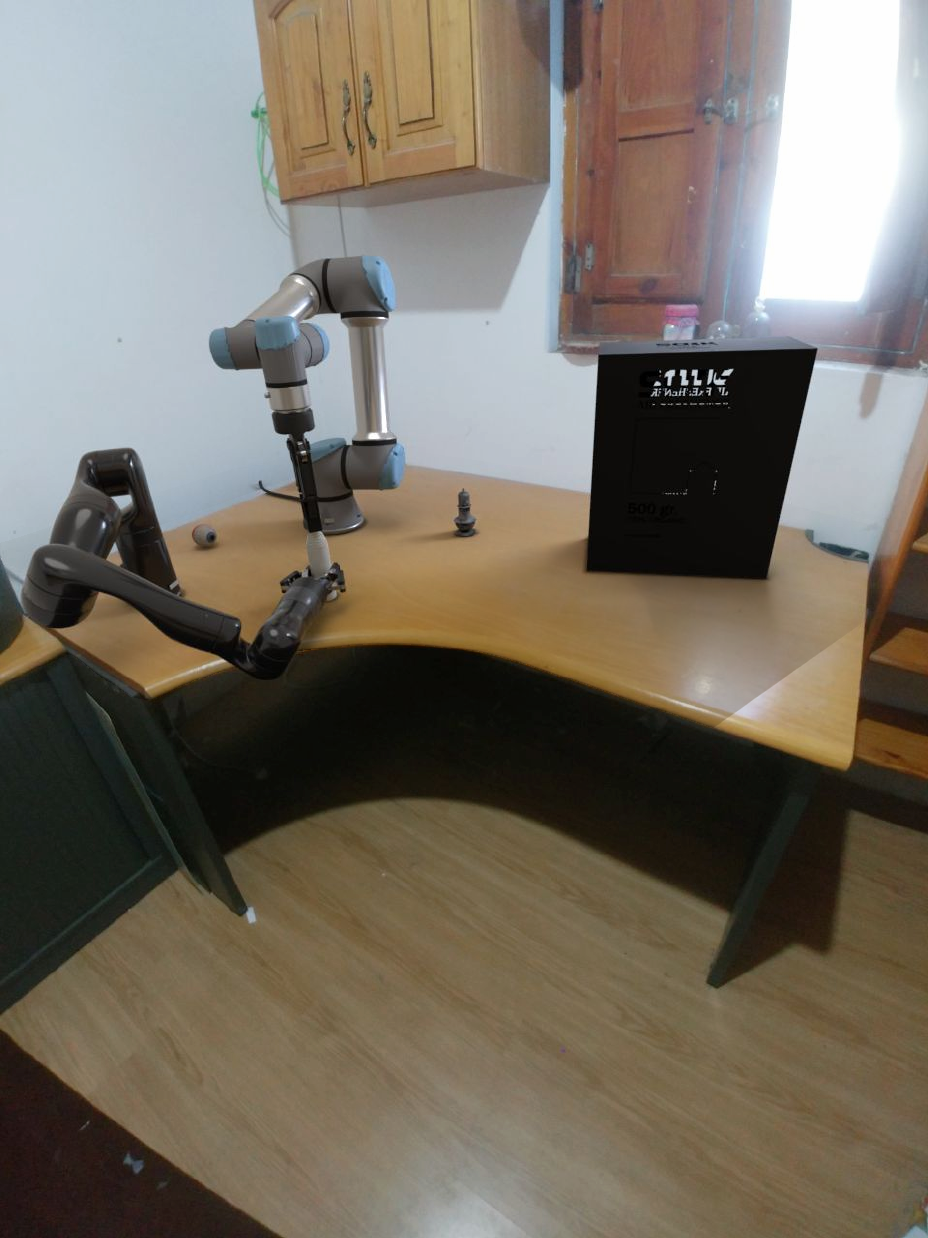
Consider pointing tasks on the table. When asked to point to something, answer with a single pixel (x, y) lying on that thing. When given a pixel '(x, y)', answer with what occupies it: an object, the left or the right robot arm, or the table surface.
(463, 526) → the salt shaker
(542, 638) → the table surface
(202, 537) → the eyeball
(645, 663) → the table surface
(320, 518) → the cap
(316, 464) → the right robot arm
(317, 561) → the bottle
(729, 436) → the cardboard box
